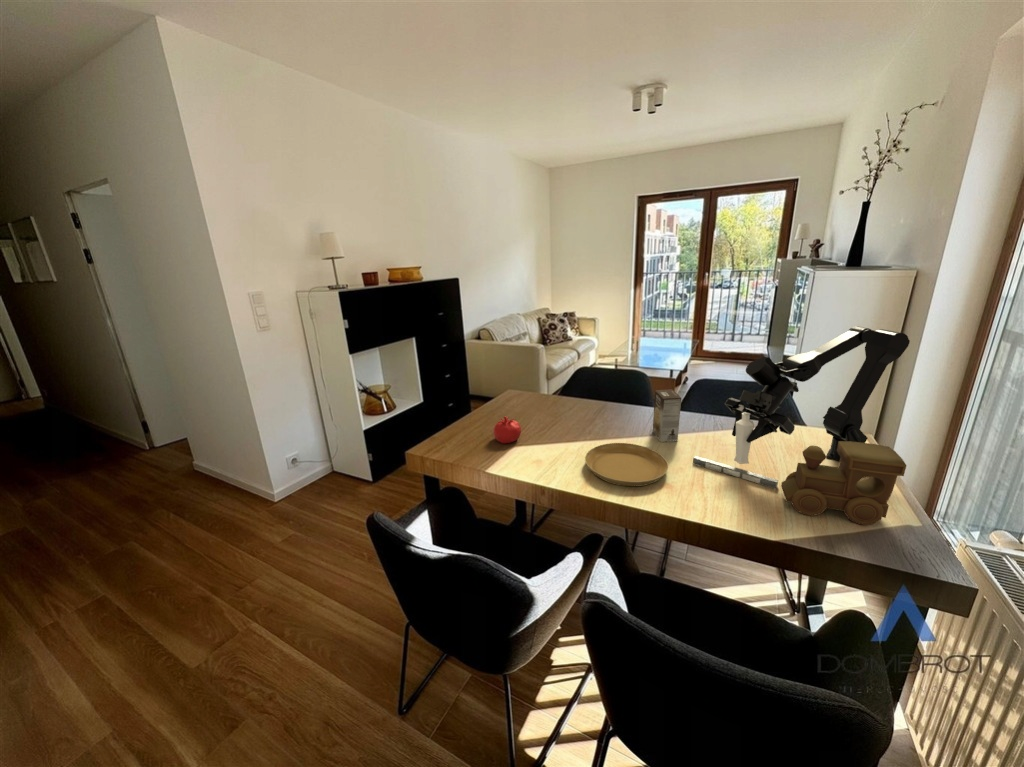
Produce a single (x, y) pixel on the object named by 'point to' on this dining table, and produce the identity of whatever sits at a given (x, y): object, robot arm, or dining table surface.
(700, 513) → the dining table surface
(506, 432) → the pomegranate
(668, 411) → the coffee box
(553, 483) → the dining table surface
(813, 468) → the wooden toy train
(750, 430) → the cream angular vase
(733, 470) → the rail
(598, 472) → the plant saucer
